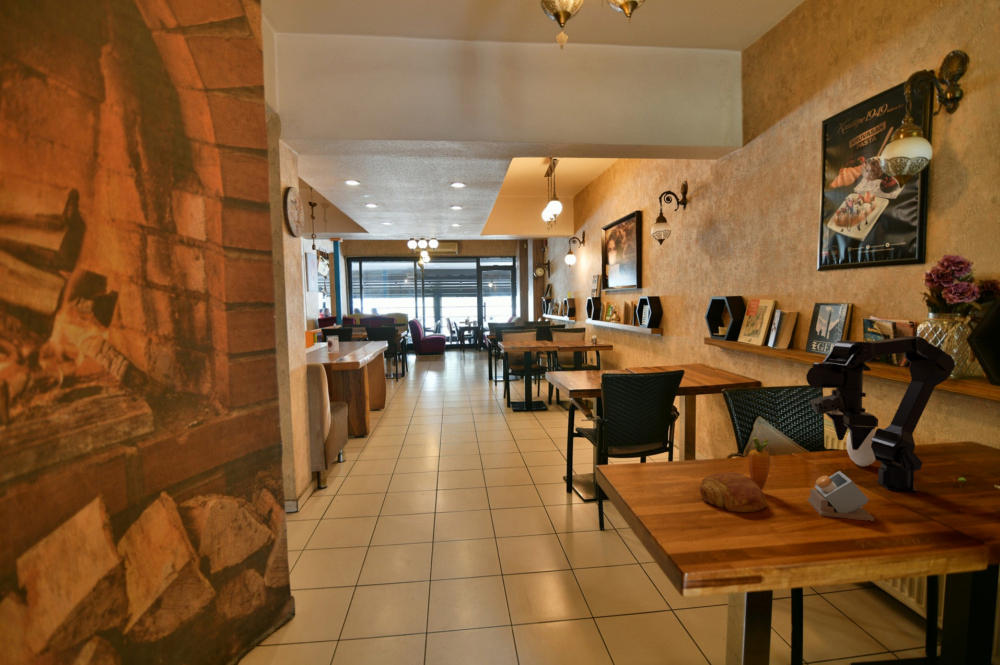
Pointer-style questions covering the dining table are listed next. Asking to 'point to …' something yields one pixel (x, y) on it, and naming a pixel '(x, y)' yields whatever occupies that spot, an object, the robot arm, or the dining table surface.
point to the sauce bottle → (862, 451)
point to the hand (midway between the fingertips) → (847, 444)
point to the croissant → (733, 492)
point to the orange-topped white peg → (826, 484)
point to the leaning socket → (840, 500)
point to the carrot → (759, 463)
